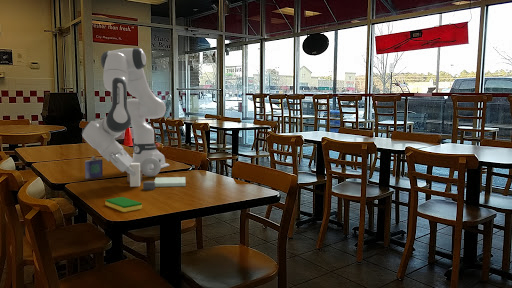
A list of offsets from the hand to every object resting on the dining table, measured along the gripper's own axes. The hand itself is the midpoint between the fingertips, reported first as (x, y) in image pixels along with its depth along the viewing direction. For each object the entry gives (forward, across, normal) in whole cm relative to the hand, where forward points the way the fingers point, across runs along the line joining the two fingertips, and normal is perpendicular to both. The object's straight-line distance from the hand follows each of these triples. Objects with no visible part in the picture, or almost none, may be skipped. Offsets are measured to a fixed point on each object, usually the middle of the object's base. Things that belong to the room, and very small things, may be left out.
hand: (136, 173), depth 185 cm
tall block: (+4, 0, +4) cm, 6 cm away
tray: (+14, +3, -6) cm, 16 cm away
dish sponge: (+4, -37, +5) cm, 38 cm away
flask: (-12, +21, +20) cm, 31 cm away
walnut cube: (+3, +10, +5) cm, 11 cm away
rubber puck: (+8, -8, 0) cm, 11 cm away
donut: (+7, +21, +1) cm, 23 cm away
